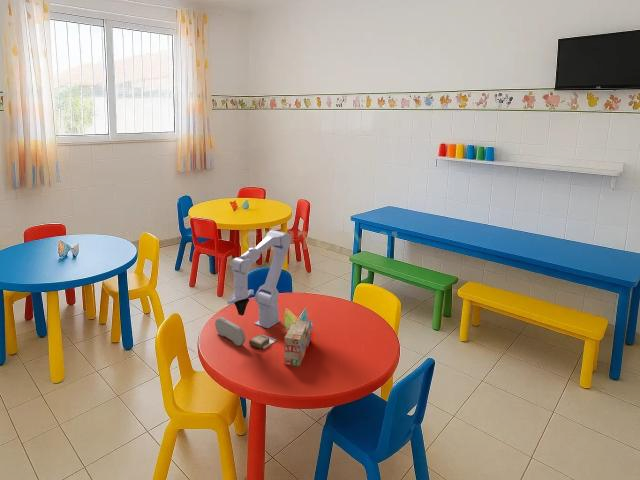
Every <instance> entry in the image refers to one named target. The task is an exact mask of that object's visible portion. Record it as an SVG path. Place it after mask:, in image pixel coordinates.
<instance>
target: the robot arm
mask: <svg viewBox="0 0 640 480" xmlns="http://www.w3.org/2000/svg"><path fill="white" fill-rule="evenodd" d="M291 242H292V238H291V235H290V234H289V233H288V232H283V231H280V230H279V231H278V230H275V229H271V230H269V231H268V232H267V233H266V235H265V238H263V239H262V241H260V242H259V243H258V244H257V245H256V246H255V247H249V248H248V249H247V251H245V252H244V253H243V254H241V255H240V256H239V257H235V258H233V259H232V260H231V264H230V266H229V267H230V269H231V271H232V275H233V293H232V296H230V298H228V299H227V300H226V301H227V305H229V306H232V305H233V304H234V305H235V308H236V310H237V313H238V316H244V315H245V312H246V308H247V305H248V304H249V301H250V298H249V297H250V296H253V295H254V294H255V295H254V300H255V301H254V302H255V303H257V306H258V321H255V322H254V324H255V325H257V326H260V327H263V328H265V329H270V328H271V327H273V326H275V325H276V324H278V323H280V322H281V319H279V318H280V315H279V314H280V311H279V310H280V309H279V305H278V302H279V295H280V292H279V290H278V289H277V284H278V282H279V278H280V276H281V272H282V269H283V267H284V263H285V261H286V257H287V256H288V255H287V254H288V252H289V249H290V246H291ZM269 248H272V249H274V255H273V257H272V260H271V264H270V267H269V269H268V270H269V271H268V272H267V276H266V279H265V282H264V284H262V285H260V286H259V287H258V290H257V291H256V293H254V289H248V288H249V287H248V272H249V271H250V269H251V267H252V265H253V264H254V263H256V261H258V260H260V257H261V254H263V253H264V252H265V251H266V250H268V249H269Z"/></svg>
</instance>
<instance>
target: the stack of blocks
mask: <svg viewBox="0 0 640 480" xmlns="http://www.w3.org/2000/svg"><path fill="white" fill-rule="evenodd" d="M310 342H311V321H307V320H298V319H297V320H296V321H295V323H291V324H290V327H289V329H288V331H287V333H286V334H285V336H284V345H283V346H284V358H283V361H284V363H283V365H287V366H293V367H294V366H295V367H300V365H301V364H302V361H303V359H304V357H305V354H306V351H307V349H308V347H309V344H310Z"/></svg>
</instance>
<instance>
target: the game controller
mask: <svg viewBox="0 0 640 480" xmlns="http://www.w3.org/2000/svg"><path fill="white" fill-rule="evenodd" d="M214 326H215V329H216V330H215V331H216V332H217V334H218V335H219V336H220V337H226V338H227V339H229V340H231V341H232V342H233V344H234V345H235V346H238V347H240V346H242V345H244V344H245V343H246V334H245V331H244V330H243V328H242V327H241V326H239V325H237V324H236V323H234V322H232V321H230V320H228V319H227V318H224V317H223V316H221V317H218V318H216V319H215V325H214Z"/></svg>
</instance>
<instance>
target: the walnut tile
mask: <svg viewBox="0 0 640 480" xmlns="http://www.w3.org/2000/svg"><path fill="white" fill-rule="evenodd" d="M261 335H262V334H257V335H255V336H254V337H252V338H250V339H249V340H248V345H250V346H252V347H255V348H257V349H263V348H262V347H264V346H265V345H267V344H268V343H269V338H266V337H263V336H261Z"/></svg>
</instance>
